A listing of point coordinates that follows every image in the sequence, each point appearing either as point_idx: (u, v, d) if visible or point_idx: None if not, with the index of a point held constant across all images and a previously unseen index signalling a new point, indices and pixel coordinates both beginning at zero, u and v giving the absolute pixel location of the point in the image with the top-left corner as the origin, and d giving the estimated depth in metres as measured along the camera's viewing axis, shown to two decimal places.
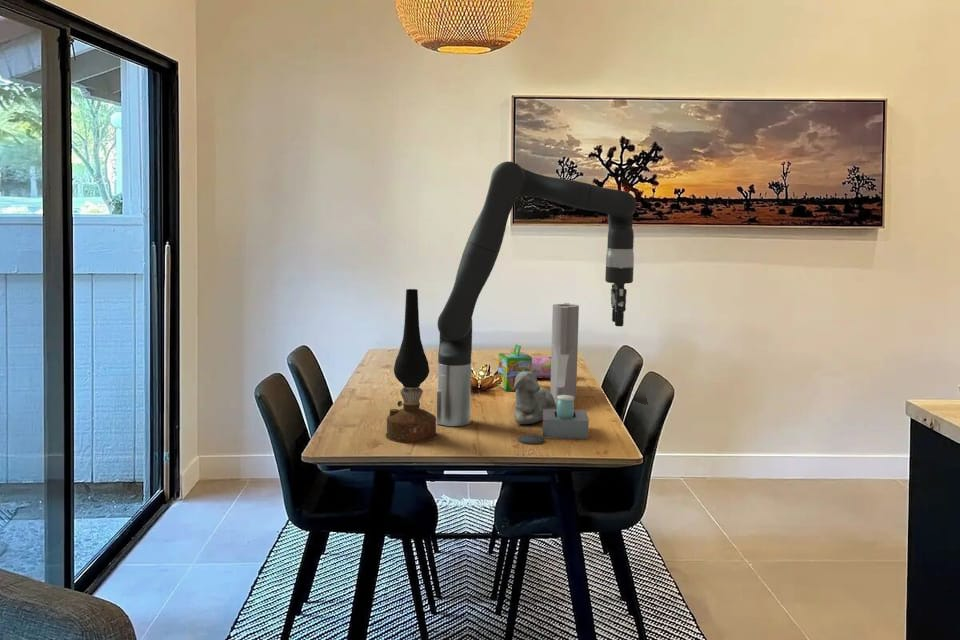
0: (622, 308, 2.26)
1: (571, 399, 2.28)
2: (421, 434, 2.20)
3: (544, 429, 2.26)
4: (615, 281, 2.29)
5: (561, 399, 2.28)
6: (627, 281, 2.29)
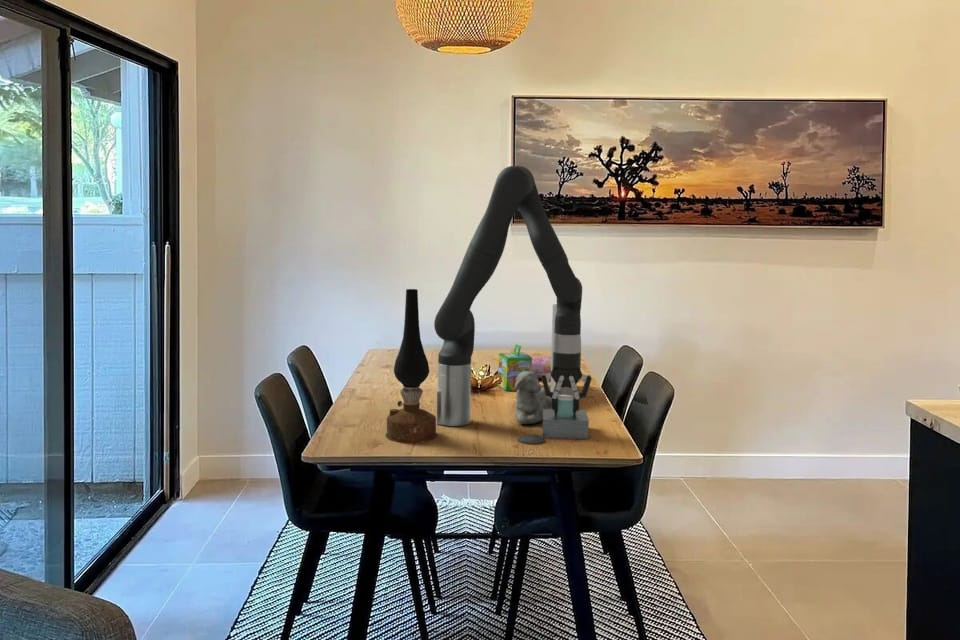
0: None
1: (571, 399, 2.28)
2: (421, 434, 2.20)
3: (544, 429, 2.26)
4: (579, 366, 2.27)
5: (561, 399, 2.28)
6: None
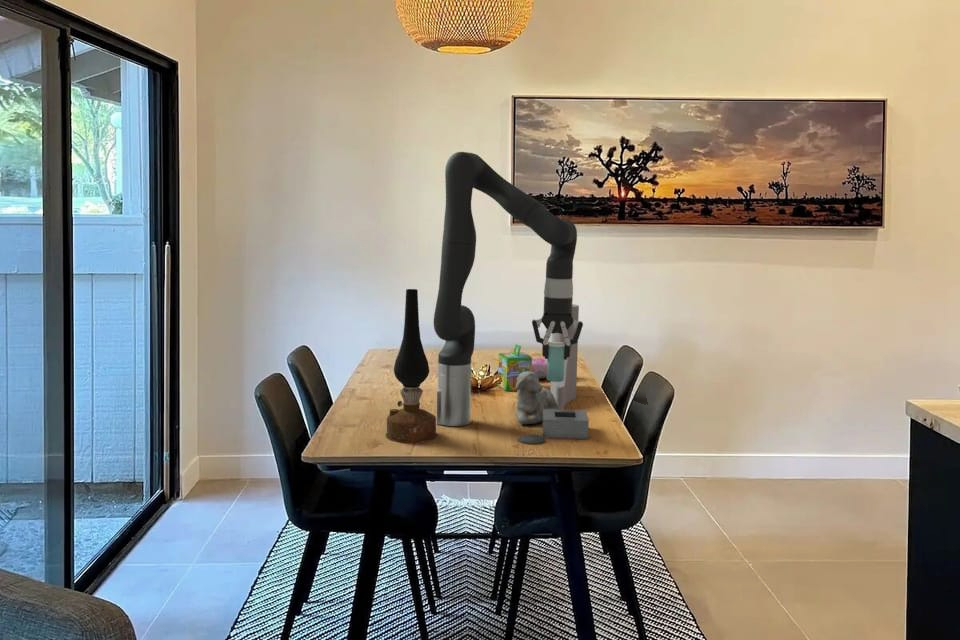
0: None
1: (562, 345, 2.24)
2: (421, 434, 2.20)
3: (544, 429, 2.26)
4: (571, 312, 2.23)
5: (552, 345, 2.24)
6: None
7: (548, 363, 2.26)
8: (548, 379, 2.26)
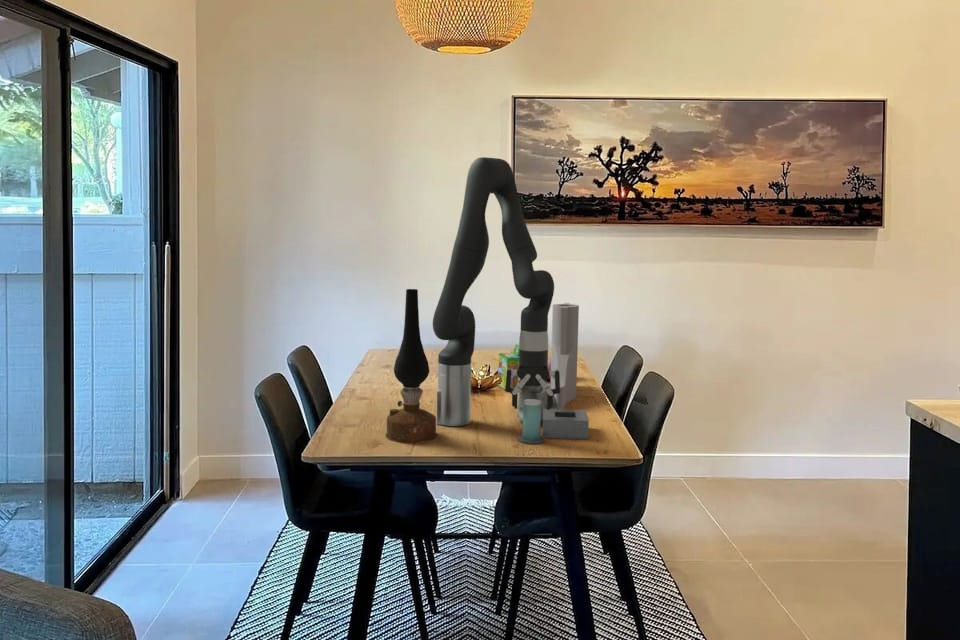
0: None
1: (538, 404, 2.20)
2: (421, 434, 2.20)
3: (544, 429, 2.26)
4: (546, 364, 2.19)
5: (527, 404, 2.20)
6: None
7: (524, 421, 2.21)
8: (524, 438, 2.22)
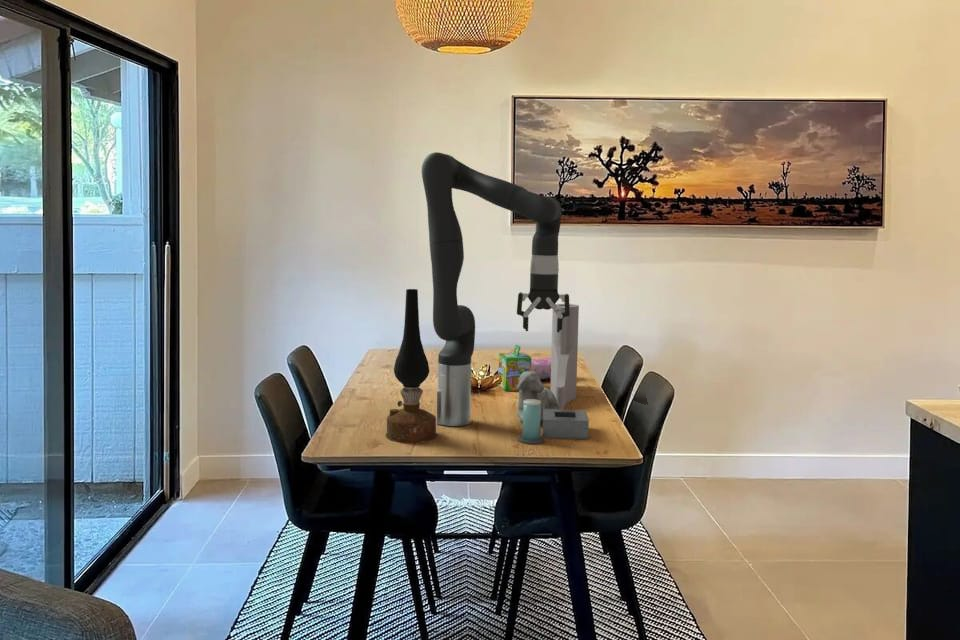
0: None
1: (537, 404, 2.20)
2: (421, 434, 2.20)
3: (544, 429, 2.26)
4: (556, 288, 2.27)
5: (527, 404, 2.20)
6: None
7: (524, 421, 2.21)
8: (524, 438, 2.22)
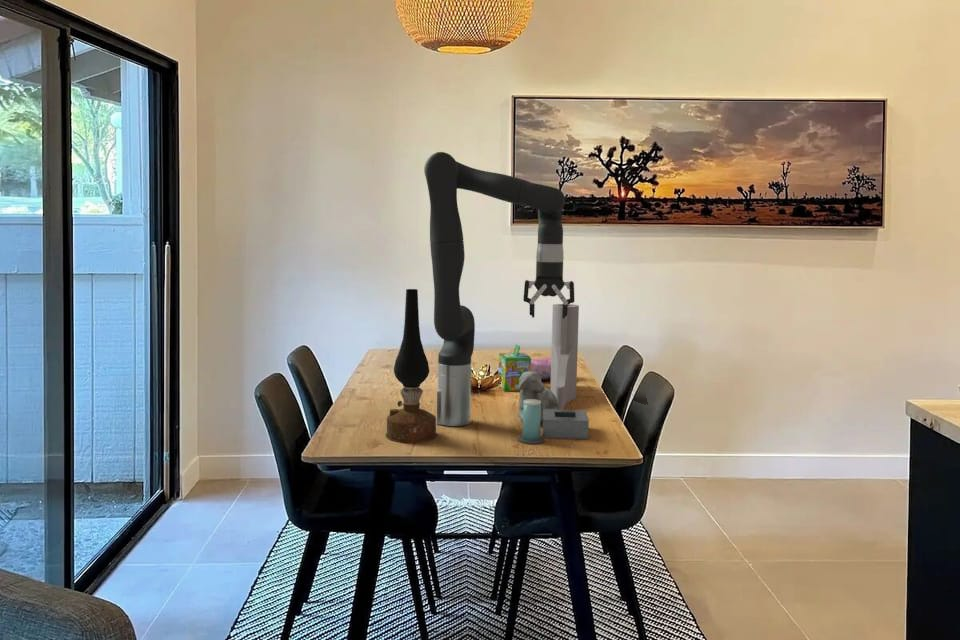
0: None
1: (538, 403, 2.20)
2: (421, 434, 2.20)
3: (544, 429, 2.26)
4: (562, 275, 2.35)
5: (527, 403, 2.20)
6: None
7: (524, 421, 2.21)
8: (524, 438, 2.22)
